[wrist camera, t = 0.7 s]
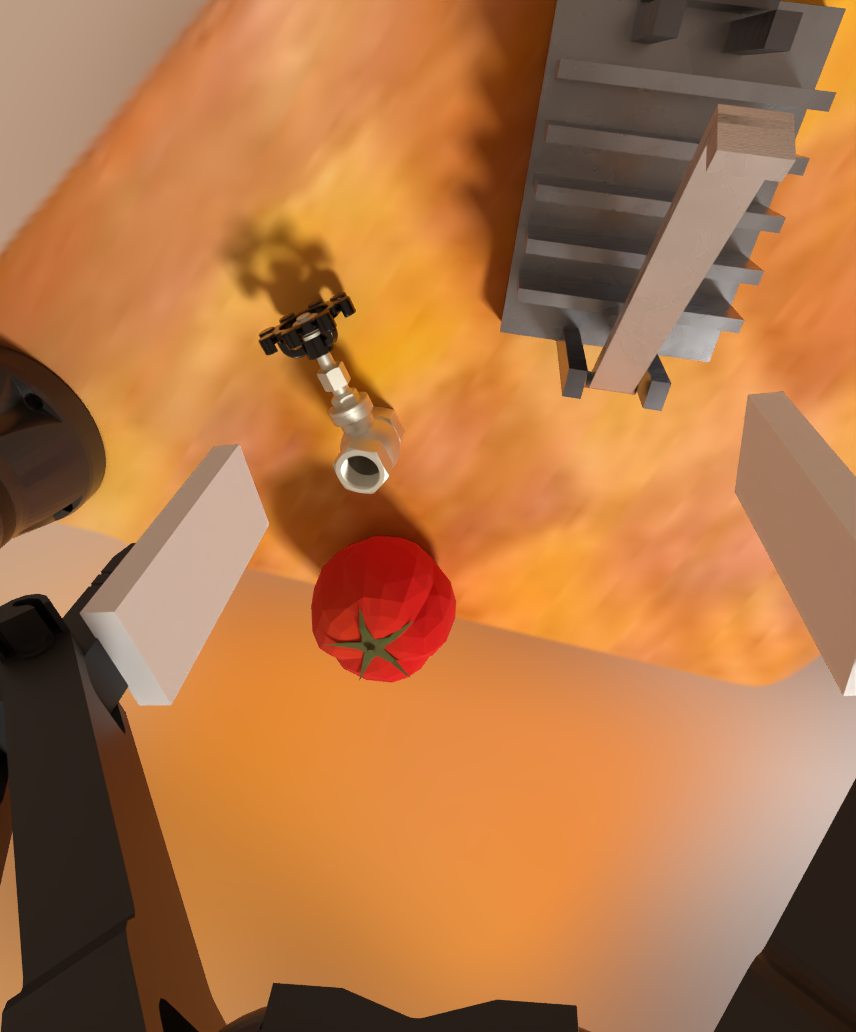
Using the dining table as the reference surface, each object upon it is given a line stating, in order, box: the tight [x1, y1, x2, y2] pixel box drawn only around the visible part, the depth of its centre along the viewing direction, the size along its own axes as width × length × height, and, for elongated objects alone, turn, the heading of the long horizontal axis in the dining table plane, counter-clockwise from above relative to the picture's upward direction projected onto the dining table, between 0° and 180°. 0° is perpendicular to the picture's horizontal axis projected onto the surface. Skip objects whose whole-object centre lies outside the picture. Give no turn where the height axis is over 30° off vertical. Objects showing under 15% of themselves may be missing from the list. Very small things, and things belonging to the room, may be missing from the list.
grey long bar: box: [584, 104, 796, 395], centre depth 27 cm, size 16×3×2 cm
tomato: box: [311, 536, 456, 682], centre depth 50 cm, size 12×12×10 cm
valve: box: [259, 292, 404, 494], centre depth 42 cm, size 7×7×12 cm
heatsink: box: [500, 0, 846, 411], centre depth 32 cm, size 18×13×8 cm
